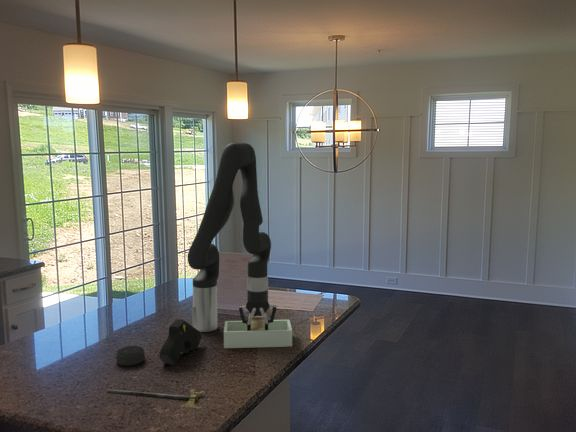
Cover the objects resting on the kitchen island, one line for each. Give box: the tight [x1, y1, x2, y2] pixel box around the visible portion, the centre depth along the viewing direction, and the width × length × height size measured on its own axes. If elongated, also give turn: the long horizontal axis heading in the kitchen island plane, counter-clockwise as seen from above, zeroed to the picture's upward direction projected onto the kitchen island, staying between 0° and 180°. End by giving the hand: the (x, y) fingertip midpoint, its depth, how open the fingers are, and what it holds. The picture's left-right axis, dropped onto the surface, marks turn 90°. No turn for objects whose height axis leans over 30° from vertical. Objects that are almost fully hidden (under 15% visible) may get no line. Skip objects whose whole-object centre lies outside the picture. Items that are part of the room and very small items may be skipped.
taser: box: [158, 318, 203, 366], centre depth 172 cm, size 4×18×15 cm
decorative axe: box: [106, 388, 205, 409], centre depth 145 cm, size 30×2×10 cm
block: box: [251, 316, 265, 331], centre depth 185 cm, size 5×5×7 cm
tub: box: [223, 319, 293, 349], centre depth 186 cm, size 24×12×6 cm, turn 95°
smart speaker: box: [115, 345, 146, 367], centre depth 167 cm, size 9×9×4 cm
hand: (257, 333), depth 186 cm, fingers closed on block, 5 cm apart
